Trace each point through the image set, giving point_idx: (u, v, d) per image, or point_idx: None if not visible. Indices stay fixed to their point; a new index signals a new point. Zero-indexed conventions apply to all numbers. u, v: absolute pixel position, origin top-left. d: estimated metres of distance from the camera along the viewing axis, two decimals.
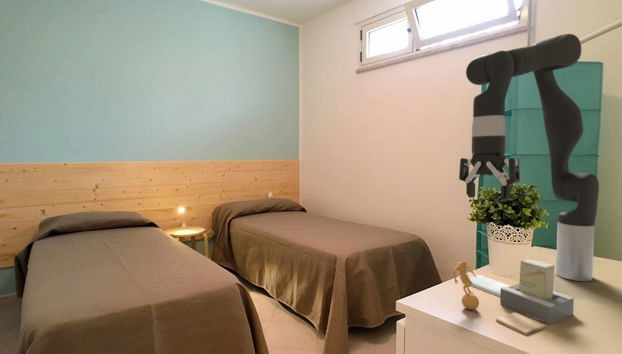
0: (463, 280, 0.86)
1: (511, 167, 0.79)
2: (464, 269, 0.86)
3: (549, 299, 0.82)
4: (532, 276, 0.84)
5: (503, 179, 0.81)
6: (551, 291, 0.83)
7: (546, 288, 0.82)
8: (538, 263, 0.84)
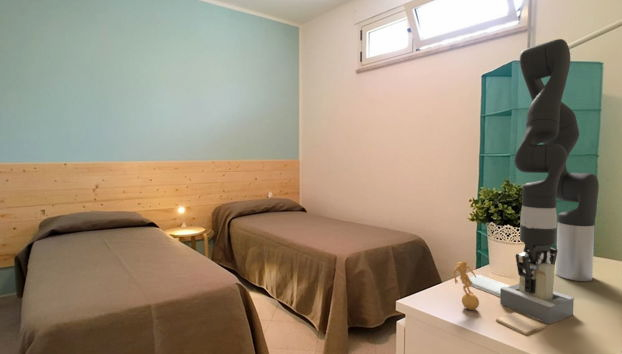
0: (463, 280, 0.86)
1: (554, 257, 0.86)
2: (464, 269, 0.86)
3: (548, 299, 0.82)
4: None
5: None
6: (551, 291, 0.83)
7: (546, 288, 0.82)
8: None
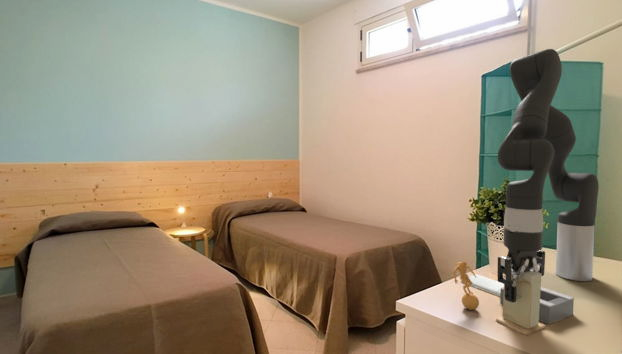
0: (463, 280, 0.86)
1: (543, 260, 0.78)
2: (464, 269, 0.86)
3: (535, 311, 0.75)
4: (516, 285, 0.76)
5: None
6: (537, 302, 0.75)
7: (532, 299, 0.74)
8: None
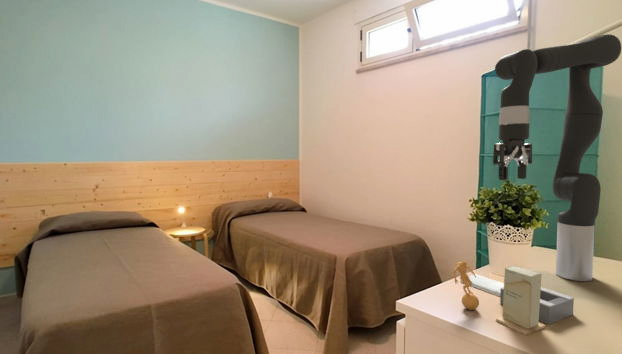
0: (463, 280, 0.86)
1: (530, 151, 0.99)
2: (464, 269, 0.86)
3: (535, 311, 0.75)
4: (516, 285, 0.76)
5: (526, 161, 0.98)
6: (537, 302, 0.75)
7: (532, 299, 0.74)
8: (523, 271, 0.76)
